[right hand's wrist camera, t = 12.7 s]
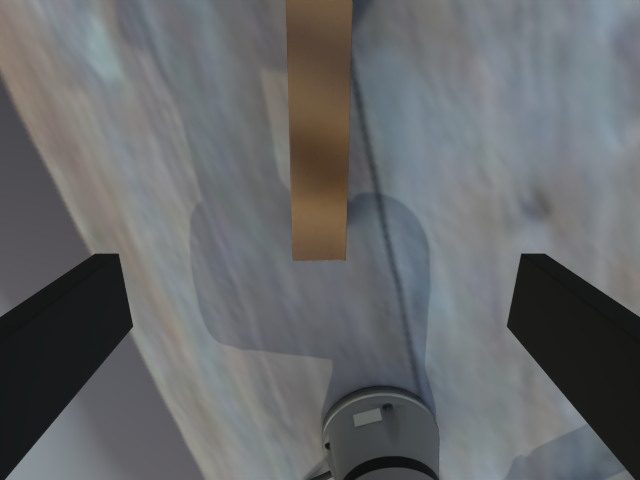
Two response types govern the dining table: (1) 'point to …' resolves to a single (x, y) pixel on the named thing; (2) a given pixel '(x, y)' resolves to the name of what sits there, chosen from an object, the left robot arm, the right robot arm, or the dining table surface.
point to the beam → (319, 125)
